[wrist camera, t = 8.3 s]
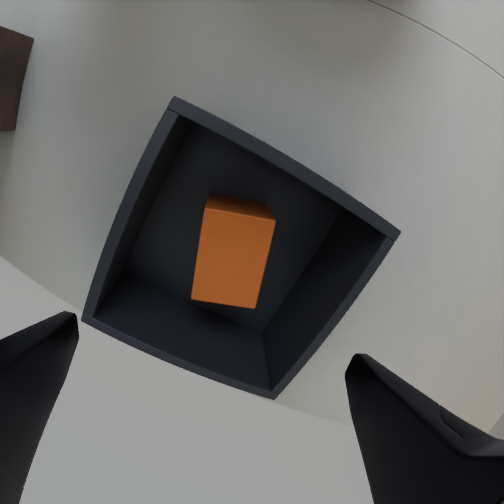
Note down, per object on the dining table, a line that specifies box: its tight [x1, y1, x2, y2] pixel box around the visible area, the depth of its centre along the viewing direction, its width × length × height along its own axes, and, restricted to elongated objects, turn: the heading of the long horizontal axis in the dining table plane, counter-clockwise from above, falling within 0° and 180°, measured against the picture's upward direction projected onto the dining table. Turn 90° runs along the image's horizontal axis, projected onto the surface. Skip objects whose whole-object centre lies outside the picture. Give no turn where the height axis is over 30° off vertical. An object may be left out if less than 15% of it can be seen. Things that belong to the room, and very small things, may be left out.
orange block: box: [191, 193, 276, 309], centre depth 18 cm, size 5×4×4 cm
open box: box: [81, 96, 401, 400], centre depth 17 cm, size 12×12×7 cm
